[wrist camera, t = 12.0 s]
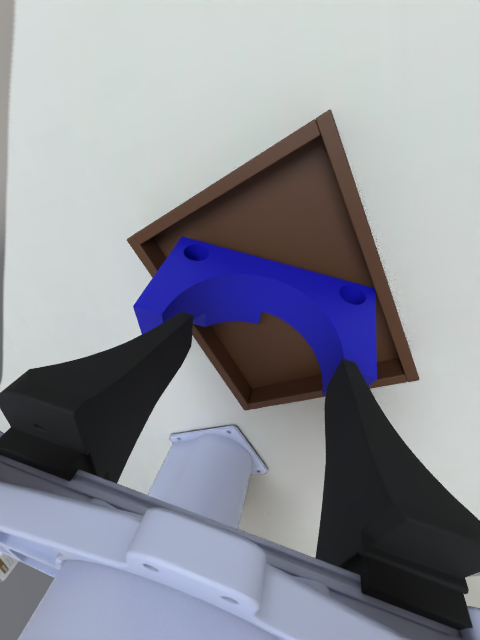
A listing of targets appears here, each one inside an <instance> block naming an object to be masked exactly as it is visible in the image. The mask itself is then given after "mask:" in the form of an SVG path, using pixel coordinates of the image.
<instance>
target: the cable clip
mask: <svg viewBox="0 0 480 640" xmlns="http://www.w3.org/2000/svg"><path fill="white" fill-rule="evenodd" d="M133 307H134V311H135V314H136V317H137V320H138V323H139V326H140V329H141V332H142V334H144V333H146V332H148V331H150V330H152V329H153V328H155V327H157V326H159V325H160V324H162V323H164V322H165V321H167V320H169V319H170V318H172V317H174V316H175V315H177V314H179V313H181V312H185V313H188V314H192V315H194V316H193V324H196V325H199V326H203V327H207V326H210V325H213V324H216V323H221V322H227V321H243V322H250V323H255V324H258V323H259V320H260V317H261V313H262V311H263V312H266V313H269V314H272V315H274V316H276V317H278V318H280V319H282V320H283V321H285V322H286V323H288V324H289V325H291V326H292V327H293V328H294V329H296V330H297V331H298V332H299V333H300V334H301V335H302V336H303V337H304V339H305V340H306V341H307V342H308V344H309V345H310V347H311V348H312V350H313V352H314V354H315V356H316V358H317V360H318V363H319V366H320V370H321V374H322V383H323V391H322V394H323V395H326V389H327V386H328V384H329V382H330V380H331V378H332V377H333V375H334V373H335V371H336V369H337V367H338V365H339V363H340V362H341V360H342V359H346V360H349V361H352V362H356V364H357V366H358V368H359V370H360V372H361V374H362V376H363V378H364V380H365V381H366V383H367V385H368V386H370V385H371V384H372V383H373V382H374V381H375V380H377V355H376V309H375V288H371V287H367V286H364V285H360V284H356V283H353V282H349V281H345V280H342V279H338V278H334V277H331V276H327V275H323V274H319V273H316V272H312V271H308V270H305V269H301V268H297V267H294V266H290V265H286V264H282V263H279V262H275V261H271V260H268V259H264V258H260V257H257V256H253V255H249V254H246V253H242V252H238V251H234V250H231V249H227V248H223V247H220V246H216V245H212V244H209V243H205V242H201V241H197V240H194V239H190V238H186V237H183V236H182V237H181V238H180V240H179V241H178V243H177V244H176V245H175V247H174V248H173V250H172V251H171V253H170V254H169V256H168V257H167V258H166V260H165V261H164V263H163V264H162V266H161V267H160V268H159V270H158V271H157V273H156V274H155V276H154V277H153V278H152V280H151V281H150V283H149V284H148V286H147V287H146V289H145V290H144V291H143V293H142V294H141V296H140V297H139V299H138V300H137V301H136V303H135V304H134V306H133Z"/></svg>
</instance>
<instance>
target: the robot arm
mask: <svg viewBox="0 0 480 640" xmlns="http://www.w3.org/2000/svg"><path fill="white" fill-rule="evenodd" d="M193 316H194V315H192V314H188V313H185V312H181V313H179V314H177V315H175V316H174V317H172V318H170V319H169V320H167V321H165V322H164V323H162V324H160V325H159V326H157V327H155V328H153V329H152V330H150V331H148V332H146V333H144V334H142V335H140V336H138V337H137V338H135V339H133V340H130V341H128V342H126V343H124V344H121V345H119V346H116V347H114V348H111V349H109V350H106V351H103V352H100V353H97V354H94V355H91V356H88V357H84V358H80V359H77V360H73V361H69V362H65V363H60V364H56V365H50V366H45V367H40V368H34V369H29V370H28V371H27V372H25V373H24V374H23V375H22V376H21V377H19V378H18V379H17V380H16V381H14V382H13V383H12V384H11V385H9V386H8V387H7V388H6V389H4V390H3V391H2V392H1V393H0V409H1V410H2V412H3V414H4V416H5V417H6V419H7V421H8V422H9V424H10V426H11V428H10V429H9V430H8V431H7V432H5V433H3V432H1V431H0V552H2V553H4V554H6V555H8V556H10V557H12V558H14V559H17V560H19V561H21V562H23V563H25V564H27V565H29V566H31V567H33V568H35V569H37V570H40V571H42V572H44V573H46V574H48V575H50V576H52V577H54V578H55V579H54V580H53V582H52V584H51V585H50V587H49V589H48V591H47V592H46V594H45V595H44V597H43V599H42V600H41V602H40V604H39V605H38V607H37V609H36V610H35V612H34V614H33V615H32V617H31V619H30V620H29V622H28V623H27V625H26V627H25V628H24V630H23V632H22V634H21V635H20V637H19V638H18V640H480V608H477V607H471V606H467V605H466V602H465V598H464V595H463V593H464V594H467V593H468V586H467V583H466V580H465V577H467V576H470V575H473V574H475V573H478V572H480V521H479V520H478V519H477V518H476V517H475V516H474V515H473V514H472V513H471V512H470V511H469V510H468V509H466V508H465V507H464V506H463V505H462V504H461V503H460V502H459V501H458V500H457V499H456V498H455V497H454V496H453V495H451V494H450V493H449V492H448V491H447V489H446V488H445V487H444V486H443V485H442V484H441V483H440V482H439V481H438V480H437V479H436V478H435V477H434V476H433V475H432V474H431V473H430V472H429V471H428V470H427V469H426V467H425V466H424V465H423V464H422V463H421V462H420V461H419V459H418V458H417V457H416V456H415V455H414V454H413V452H412V451H411V450H410V449H409V447H408V446H407V445H406V444H405V442H404V441H403V440H402V438H401V437H400V436H399V434H398V433H397V432H396V430H395V429H394V428H393V426H392V425H391V423H390V422H389V420H388V419H387V417H386V416H385V414H384V413H383V411H382V410H381V408H380V406H379V405H378V403H377V401H376V400H375V398H374V396H373V394H372V393H371V391H370V389H369V387H368V385H367V383H366V381H365V380H364V378H363V376H362V374H361V372H360V370H359V368H358V366H357V364H356V362H352V361H349V360H346V359H342V360H341V362H340V363H339V365H338V367H337V369H336V371H335V373H334V375H333V377H332V378H331V380H330V382H329V384H328V386H327V389H326V398H325V439H326V466H325V480H324V491H323V502H322V511H321V520H320V529H319V536H318V544H317V551H316V558H313V557H311V556H308V555H305V554H303V553H300V552H297V551H295V550H292V549H289V548H287V547H284V546H281V545H279V544H276V543H273V542H271V541H268V540H265V539H263V538H260V537H257V536H255V535H252V534H249V533H247V532H244V531H241V530H239V529H238V528H239V523H240V519H241V514H242V510H243V505H244V501H245V496H246V492H247V487H248V483H249V478H250V475H251V474H266V473H267V467H266V466H265V465H264V463H263V462H262V461H261V459H260V458H259V457H258V455H257V454H256V452H255V451H254V450H253V448H252V447H251V446H250V444H249V443H248V441H247V440H246V439H245V437H244V436H243V435H242V433H241V432H240V431H239V429H238V428H237V427H236V426H233V425H231V426H225V427H218V428H212V429H205V430H198V431H192V432H185V433H179V434H172V435H170V437H169V440H170V441H171V442H172V443H173V444H172V446H171V448H170V450H169V452H168V454H167V456H166V458H165V460H164V462H163V464H162V466H161V468H160V470H159V472H158V474H157V476H156V478H155V480H154V482H153V484H152V486H151V488H150V490H149V493H148V495H146V494H143V493H140V492H138V491H135V490H132V489H130V488H127V487H124V486H122V485H119V484H117V482H118V480H119V478H120V476H121V473H122V471H123V469H124V467H125V465H126V462H127V460H128V458H129V456H130V454H131V452H132V450H133V448H134V446H135V443H136V441H137V439H138V437H139V435H140V433H141V431H142V429H143V427H144V426H145V424H146V422H147V420H148V418H149V416H150V414H151V412H152V410H153V408H154V406H155V405H156V403H157V401H158V400H159V398H160V397H161V395H162V394H163V392H164V391H165V389H166V388H167V386H168V385H169V383H170V382H171V380H172V379H173V377H174V376H175V374H176V373H177V371H178V370H179V368H180V367H181V365H182V364H183V362H184V360H185V358H186V356H187V354H188V352H189V350H190V348H191V343H192V329H193Z"/></svg>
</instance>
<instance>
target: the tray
mask: <svg viewBox="0 0 480 640" xmlns="http://www.w3.org/2000/svg"><path fill="white" fill-rule="evenodd" d="M182 236H183V237H186V238H190V239H194V240H197V241H201V242H205V243H209V244H212V245H216V246H220V247H223V248H227V249H231V250H234V251H238V252H242V253H246V254H249V255H253V256H257V257H260V258H264V259H268V260H271V261H275V262H279V263H282V264H286V265H290V266H294V267H297V268H301V269H305V270H308V271H312V272H316V273H319V274H323V275H327V276H331V277H334V278H338V279H342V280H345V281H349V282H353V283H356V284H360V285H364V286H367V287H371V288H375V309H376V355H377V380H375V381H374V382H373V383H372V384H371V385H370V386H368V387H369V389H370V388H376V387H382V386H387V385H393V384H399V383H404V382H407V381H408V382H411V381H417V380H419V376H418V373H417V370H416V367H415V364H414V361H413V358H412V355H411V352H410V349H409V346H408V343H407V340H406V337H405V334H404V331H403V328H402V325H401V322H400V318H399V315H398V312H397V309H396V306H395V303H394V300H393V297H392V294H391V291H390V288H389V285H388V282H387V279H386V276H385V273H384V270H383V267H382V264H381V261H380V258H379V254H378V251H377V248H376V245H375V242H374V239H373V236H372V233H371V230H370V227H369V224H368V221H367V218H366V215H365V212H364V209H363V206H362V203H361V200H360V197H359V194H358V191H357V187H356V184H355V181H354V178H353V175H352V172H351V169H350V166H349V163H348V160H347V157H346V154H345V151H344V148H343V145H342V142H341V139H340V136H339V133H338V130H337V127H336V123H335V120H334V117H333V114H332V111H331V110H328V111H327V112H325V113H323V114H322V115H320V116H319V117H317V118H316V120H312V121H311V122H309V123H308V124H306V125H305V126H303V127H301V128H300V129H298V130H297V131H295V132H294V133H292V134H291V135H289V136H287V137H286V138H284V139H283V140H281V141H280V142H278V143H276V144H275V145H273V146H272V147H270V148H269V149H267V150H266V151H264V152H262V153H261V154H259V155H258V156H256V157H255V158H253V159H251V160H250V161H248V162H247V163H245V164H244V165H242V166H240V167H239V168H237V169H236V170H234V171H233V172H231V173H230V174H228V175H226V176H225V177H223V178H222V179H220V180H219V181H217V182H215V183H214V184H212V185H211V186H209V187H208V188H206V189H205V190H203V191H201V192H200V193H198V194H197V195H195V196H194V197H192V198H190V199H189V200H187V201H186V202H184V203H183V204H181V205H179V206H178V207H176V208H175V209H173V210H172V211H170V212H169V213H167V214H165V215H164V216H162V217H161V218H159V219H158V220H156V221H154V222H153V223H151V224H150V225H148V226H147V227H145V228H143V229H142V230H140V231H139V232H137V233H136V234H134V235H133V236H131V237H129V238H128V239H127V241H128V243H129V244H130V246H131V247H132V248H133V250H134V251H135V253H136V254H137V256H138V257H139V259H140V260H141V261H142V263H143V264H144V266H145V267H146V269H147V270H148V272H149V273H150V274H151V276H152V277H154V276H155V274H156V273H157V271H158V270H159V268H160V267H161V266H162V264H163V263H164V261H165V260H166V258H167V257H168V256H169V254H170V253H171V251H172V250H173V248H174V247H175V245H176V244H177V243H178V241H179V240H180V238H181V237H182ZM192 335H193V337H194V338H195V339H196V341H197V342H198V344H199V345H200V347H201V348H202V350H203V351H204V352H205V354H206V355H207V357H208V358H209V360H210V361H211V363H212V364H213V365H214V367H215V368H216V370H217V371H218V373H219V374H220V376H221V377H222V378H223V380H224V381H225V383H226V384H227V386H228V387H229V389H230V390H231V391H232V393H233V394H234V396H235V397H236V399H237V400H238V402H239V403H240V404H241V406H242V407H243V409H244V410H251V409H257V408H262V407H268V406H274V405H280V404H285V403H291V402H297V401H302V400H308V399H314V398H319V397H325V396H326V395H323V394H322V391H323V383H322V374H321V370H320V366H319V363H318V360H317V358H316V356H315V354H314V352H313V350H312V348H311V347H310V345H309V344H308V342H307V341H306V340H305V339H304V337H303V336H302V335H301V334H300V333H299V332H298V331H297V330H296V329H294V328H293V327H292V326H291V325H289V324H288V323H286V322H285V321H283V320H282V319H280V318H278V317H276V316H274V315H272V314H269V313H266V312H263V311H262V313H261V317H260V320H259V323H258V324H255V323H250V322H243V321H227V322H221V323H216V324H213V325H210V326H207V327H203V326H199V325H196V324H193V329H192Z"/></svg>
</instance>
